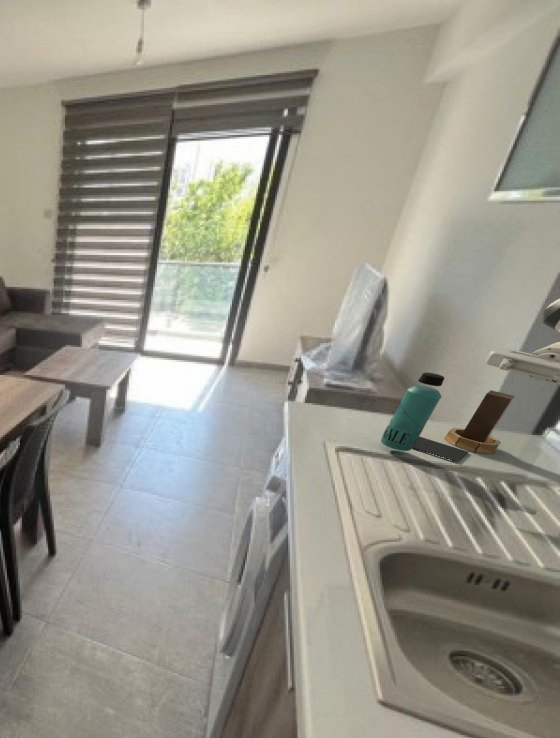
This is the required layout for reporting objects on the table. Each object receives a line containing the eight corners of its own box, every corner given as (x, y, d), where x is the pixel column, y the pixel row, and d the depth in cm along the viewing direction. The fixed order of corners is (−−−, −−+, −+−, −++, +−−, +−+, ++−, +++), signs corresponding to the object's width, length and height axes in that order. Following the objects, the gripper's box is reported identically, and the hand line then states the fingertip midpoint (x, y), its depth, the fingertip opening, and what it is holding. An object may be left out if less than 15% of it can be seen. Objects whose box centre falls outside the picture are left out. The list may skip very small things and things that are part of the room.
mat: (467, 453, 120) (468, 451, 120) (456, 463, 115) (457, 462, 114) (417, 437, 127) (418, 436, 127) (405, 446, 122) (406, 445, 121)
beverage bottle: (407, 449, 120) (449, 373, 111) (411, 459, 115) (456, 381, 106) (375, 441, 123) (413, 367, 114) (378, 451, 118) (418, 375, 109)
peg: (482, 446, 124) (515, 395, 117) (478, 450, 122) (511, 399, 115) (460, 439, 127) (490, 390, 120) (456, 443, 125) (486, 393, 118)
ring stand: (498, 447, 123) (503, 439, 122) (489, 457, 118) (495, 448, 117) (450, 433, 130) (455, 425, 129) (440, 441, 125) (446, 433, 124)
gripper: (505, 340, 131) (483, 348, 126) (617, 364, 116) (597, 375, 111) (492, 362, 135) (469, 371, 129) (599, 388, 119) (579, 400, 114)
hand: (529, 373), depth 120 cm, fingers open, 8 cm apart
